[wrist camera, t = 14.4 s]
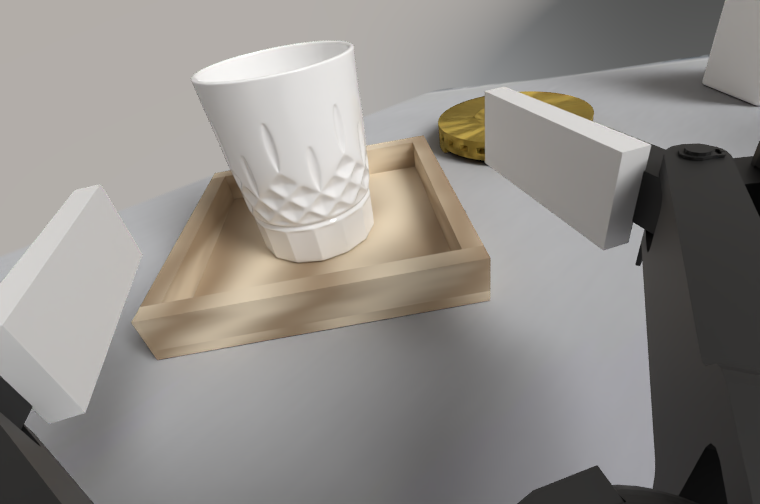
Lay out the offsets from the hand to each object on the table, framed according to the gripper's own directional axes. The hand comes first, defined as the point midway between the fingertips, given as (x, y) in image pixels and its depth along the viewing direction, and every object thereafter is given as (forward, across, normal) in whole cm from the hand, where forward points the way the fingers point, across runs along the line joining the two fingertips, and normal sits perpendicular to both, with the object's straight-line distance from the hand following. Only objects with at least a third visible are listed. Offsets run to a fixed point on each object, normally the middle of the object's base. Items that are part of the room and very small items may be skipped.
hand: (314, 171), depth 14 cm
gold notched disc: (+17, +18, -9) cm, 26 cm away
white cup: (+9, 0, -8) cm, 12 cm away
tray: (+9, 0, -8) cm, 12 cm away
